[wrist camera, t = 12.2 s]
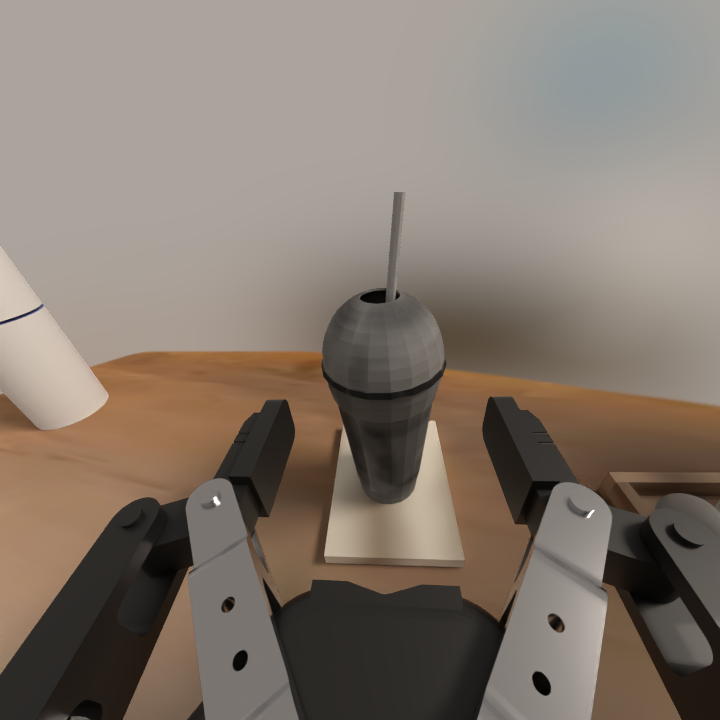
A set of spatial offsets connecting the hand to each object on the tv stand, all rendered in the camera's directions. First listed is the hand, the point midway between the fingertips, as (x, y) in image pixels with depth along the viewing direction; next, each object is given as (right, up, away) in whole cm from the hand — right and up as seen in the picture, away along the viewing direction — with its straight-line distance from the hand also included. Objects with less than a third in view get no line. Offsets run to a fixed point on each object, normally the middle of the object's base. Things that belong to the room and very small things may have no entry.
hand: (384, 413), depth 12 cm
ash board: (+2, -8, +12) cm, 15 cm away
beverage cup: (+1, -7, +12) cm, 14 cm away
